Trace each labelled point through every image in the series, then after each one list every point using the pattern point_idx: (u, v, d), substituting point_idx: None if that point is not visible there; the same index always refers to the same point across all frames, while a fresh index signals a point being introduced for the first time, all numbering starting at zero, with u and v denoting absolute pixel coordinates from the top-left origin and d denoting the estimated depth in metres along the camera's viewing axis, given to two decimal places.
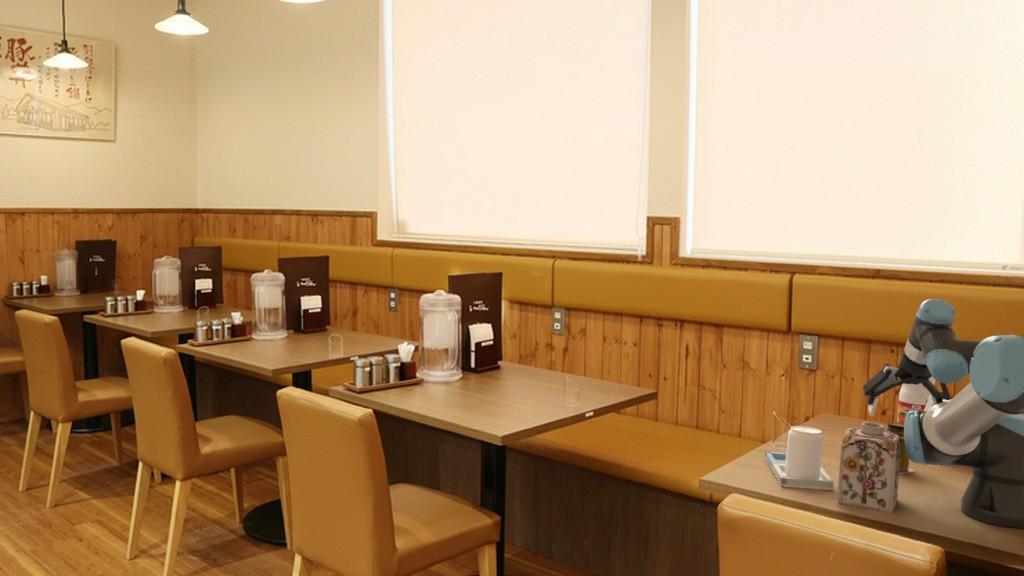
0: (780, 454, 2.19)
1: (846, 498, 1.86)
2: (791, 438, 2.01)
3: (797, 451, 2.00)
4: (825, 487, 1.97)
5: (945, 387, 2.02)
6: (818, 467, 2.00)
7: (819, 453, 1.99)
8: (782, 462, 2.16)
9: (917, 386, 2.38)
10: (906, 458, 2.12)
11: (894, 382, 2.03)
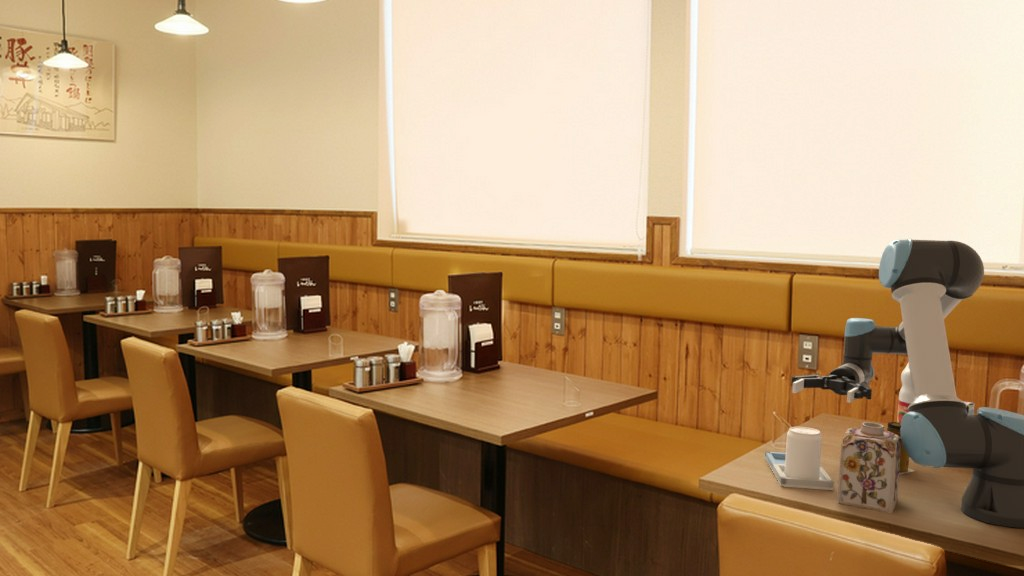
0: (780, 454, 2.19)
1: (846, 498, 1.86)
2: (790, 439, 2.01)
3: (796, 452, 1.99)
4: (825, 487, 1.97)
5: (866, 385, 2.13)
6: (817, 468, 2.00)
7: (819, 453, 1.99)
8: (782, 462, 2.16)
9: None
10: (906, 458, 2.12)
11: None
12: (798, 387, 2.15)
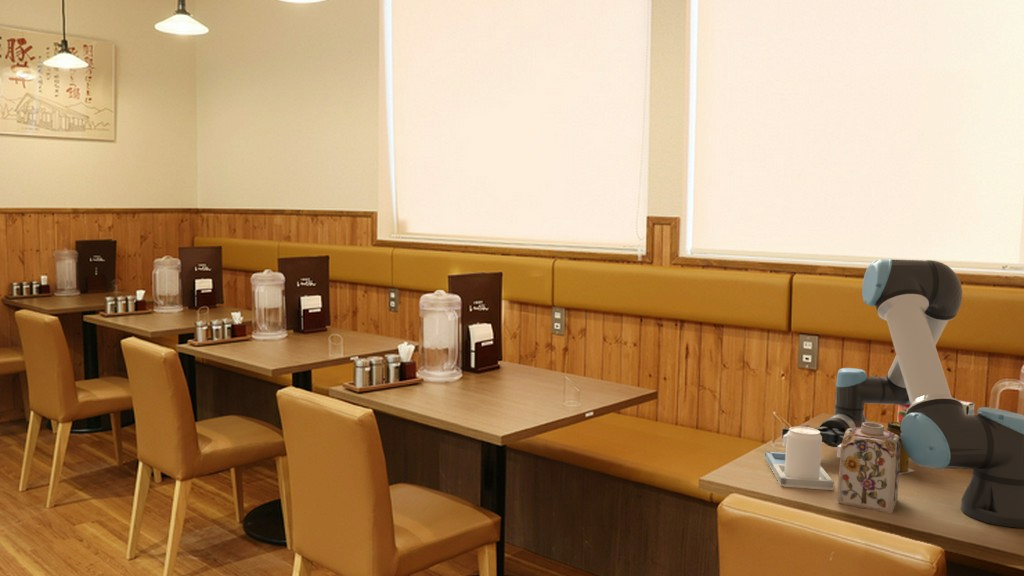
0: (780, 454, 2.19)
1: (846, 498, 1.86)
2: (790, 439, 2.01)
3: (796, 452, 1.99)
4: (825, 487, 1.97)
5: None
6: (817, 468, 2.00)
7: (819, 453, 1.99)
8: (782, 462, 2.16)
9: None
10: (906, 458, 2.12)
11: None
12: None
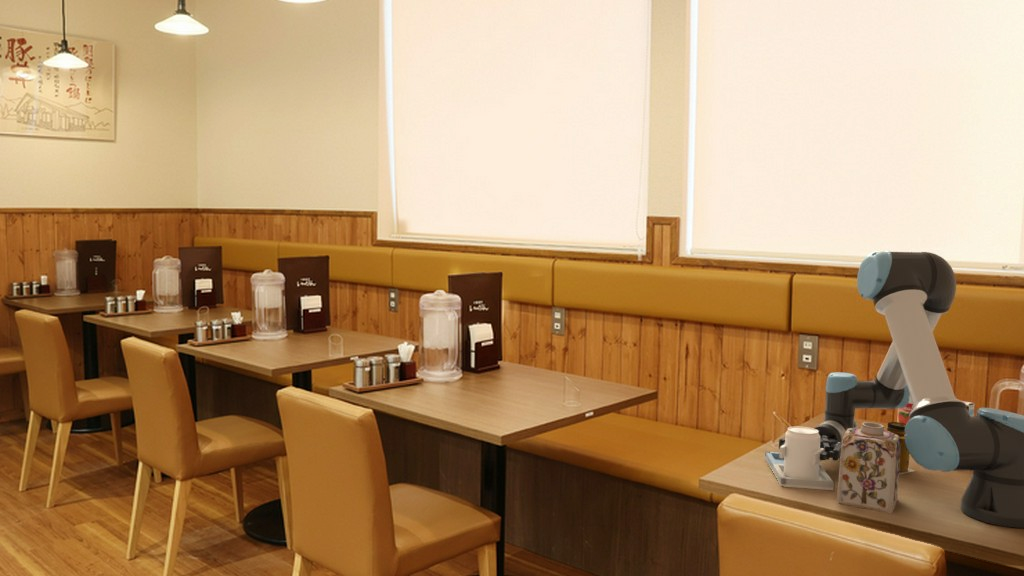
0: None
1: (846, 498, 1.86)
2: (788, 439, 2.01)
3: (794, 452, 2.00)
4: (825, 487, 1.97)
5: (840, 446, 2.04)
6: (816, 467, 2.00)
7: None
8: (782, 462, 2.16)
9: None
10: (906, 458, 2.12)
11: None
12: None
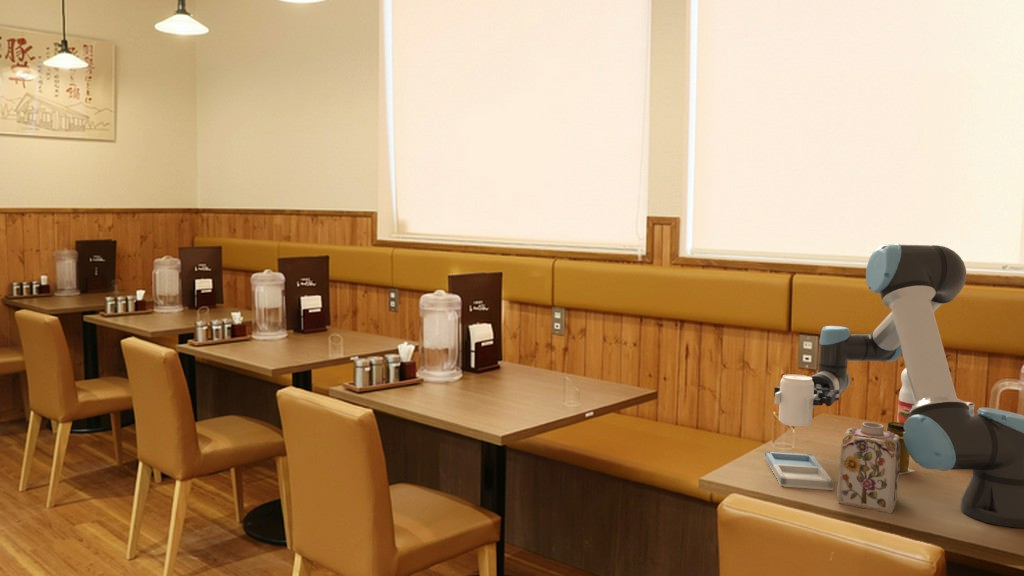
0: (780, 454, 2.19)
1: (846, 498, 1.86)
2: (783, 385, 2.09)
3: (789, 398, 2.08)
4: (825, 487, 1.97)
5: (832, 393, 2.12)
6: (810, 413, 2.08)
7: None
8: (782, 462, 2.16)
9: None
10: (906, 458, 2.12)
11: None
12: None
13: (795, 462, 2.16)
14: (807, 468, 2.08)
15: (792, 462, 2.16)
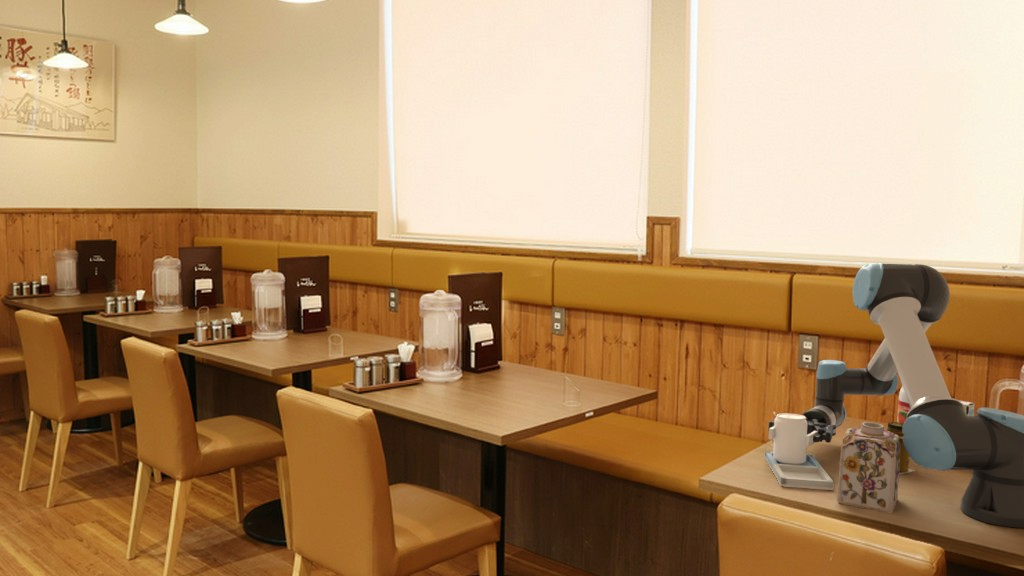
0: None
1: (846, 498, 1.86)
2: (777, 424, 2.13)
3: (783, 436, 2.11)
4: (825, 487, 1.97)
5: (831, 429, 2.15)
6: (803, 451, 2.11)
7: (804, 437, 2.11)
8: None
9: None
10: (906, 458, 2.12)
11: None
12: None
13: None
14: (807, 468, 2.08)
15: None
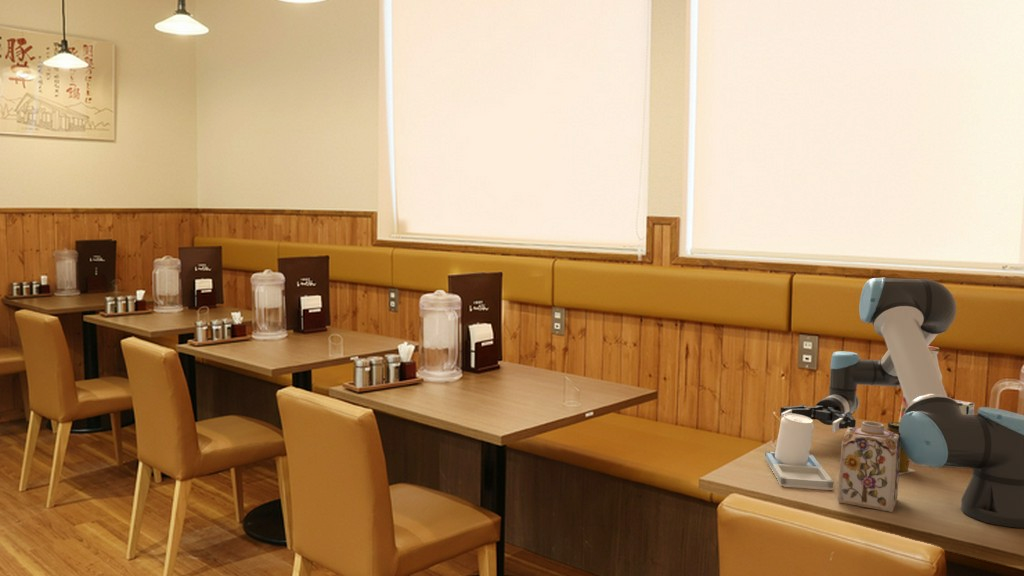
0: None
1: (847, 496, 1.86)
2: (786, 427, 2.10)
3: (791, 440, 2.10)
4: (825, 487, 1.97)
5: (851, 416, 2.25)
6: (808, 454, 2.11)
7: (811, 440, 2.11)
8: None
9: None
10: (906, 458, 2.12)
11: None
12: None
13: None
14: (807, 468, 2.08)
15: None
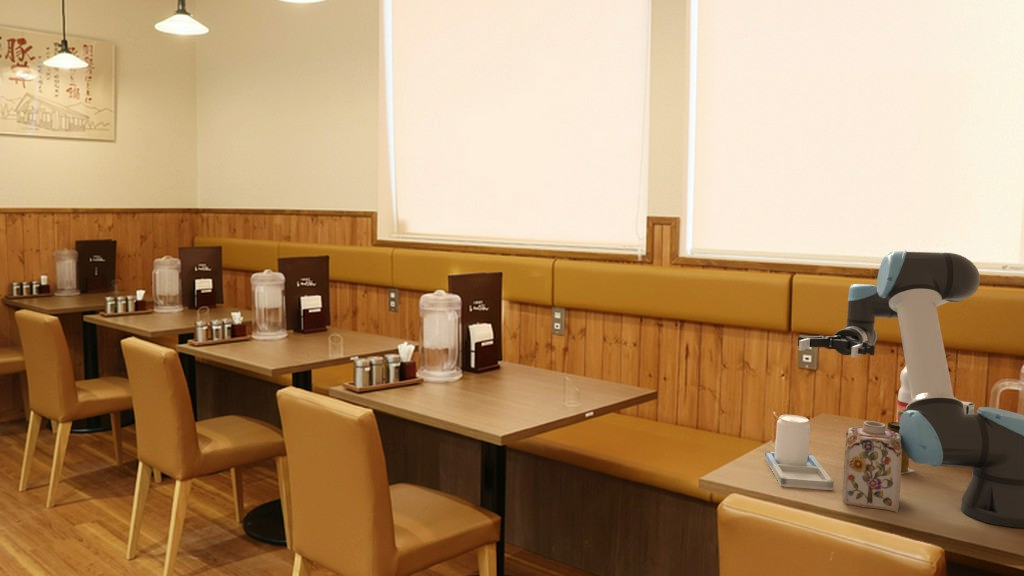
0: None
1: (852, 498, 1.86)
2: (784, 428, 2.11)
3: (790, 440, 2.10)
4: (825, 487, 1.97)
5: (870, 343, 2.23)
6: (807, 453, 2.12)
7: (808, 439, 2.11)
8: None
9: None
10: (906, 458, 2.12)
11: None
12: (804, 345, 2.25)
13: None
14: (807, 468, 2.08)
15: None
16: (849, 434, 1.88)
